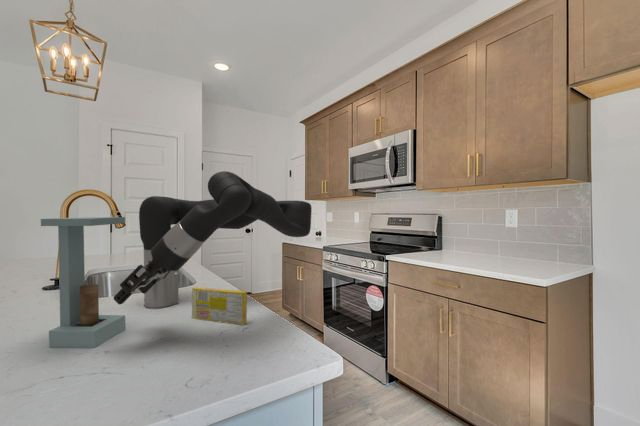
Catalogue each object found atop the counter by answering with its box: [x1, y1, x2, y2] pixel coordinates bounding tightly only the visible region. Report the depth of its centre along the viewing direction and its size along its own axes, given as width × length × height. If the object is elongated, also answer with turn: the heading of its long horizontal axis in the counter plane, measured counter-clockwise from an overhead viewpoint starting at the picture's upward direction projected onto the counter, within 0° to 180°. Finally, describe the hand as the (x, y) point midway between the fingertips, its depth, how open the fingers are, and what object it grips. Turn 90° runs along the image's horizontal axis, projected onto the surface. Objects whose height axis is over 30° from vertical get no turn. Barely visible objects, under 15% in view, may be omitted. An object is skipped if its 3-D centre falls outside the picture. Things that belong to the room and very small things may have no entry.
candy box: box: [191, 286, 248, 325], centre depth 83 cm, size 16×2×8 cm, turn 71°
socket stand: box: [40, 216, 126, 349], centre depth 72 cm, size 11×11×28 cm
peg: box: [80, 283, 100, 327], centre depth 72 cm, size 3×3×12 cm
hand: (130, 295), depth 71 cm, fingers open, 8 cm apart
